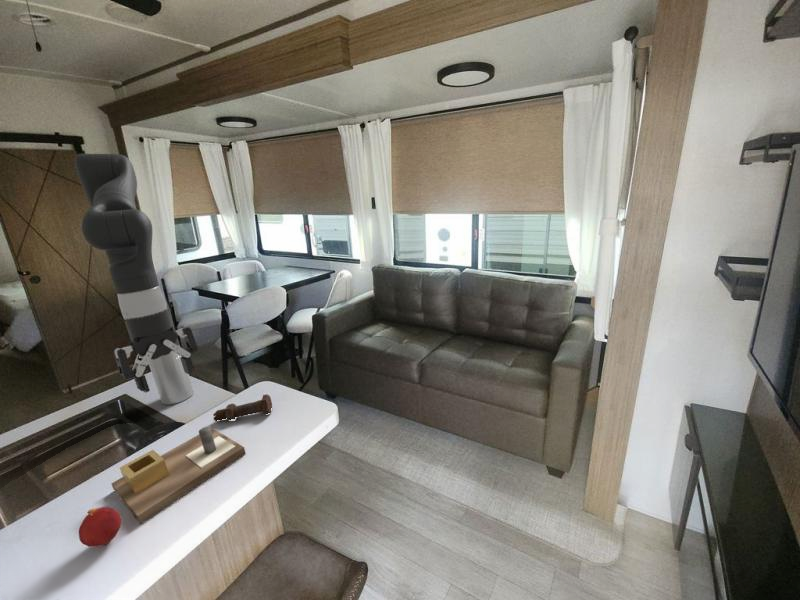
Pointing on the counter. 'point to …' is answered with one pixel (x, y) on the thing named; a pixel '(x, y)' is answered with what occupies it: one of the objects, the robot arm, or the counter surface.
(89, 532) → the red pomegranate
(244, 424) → the counter surface
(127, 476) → the collar
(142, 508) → the post board
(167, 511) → the counter surface
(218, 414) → the bolt
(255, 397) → the counter surface
